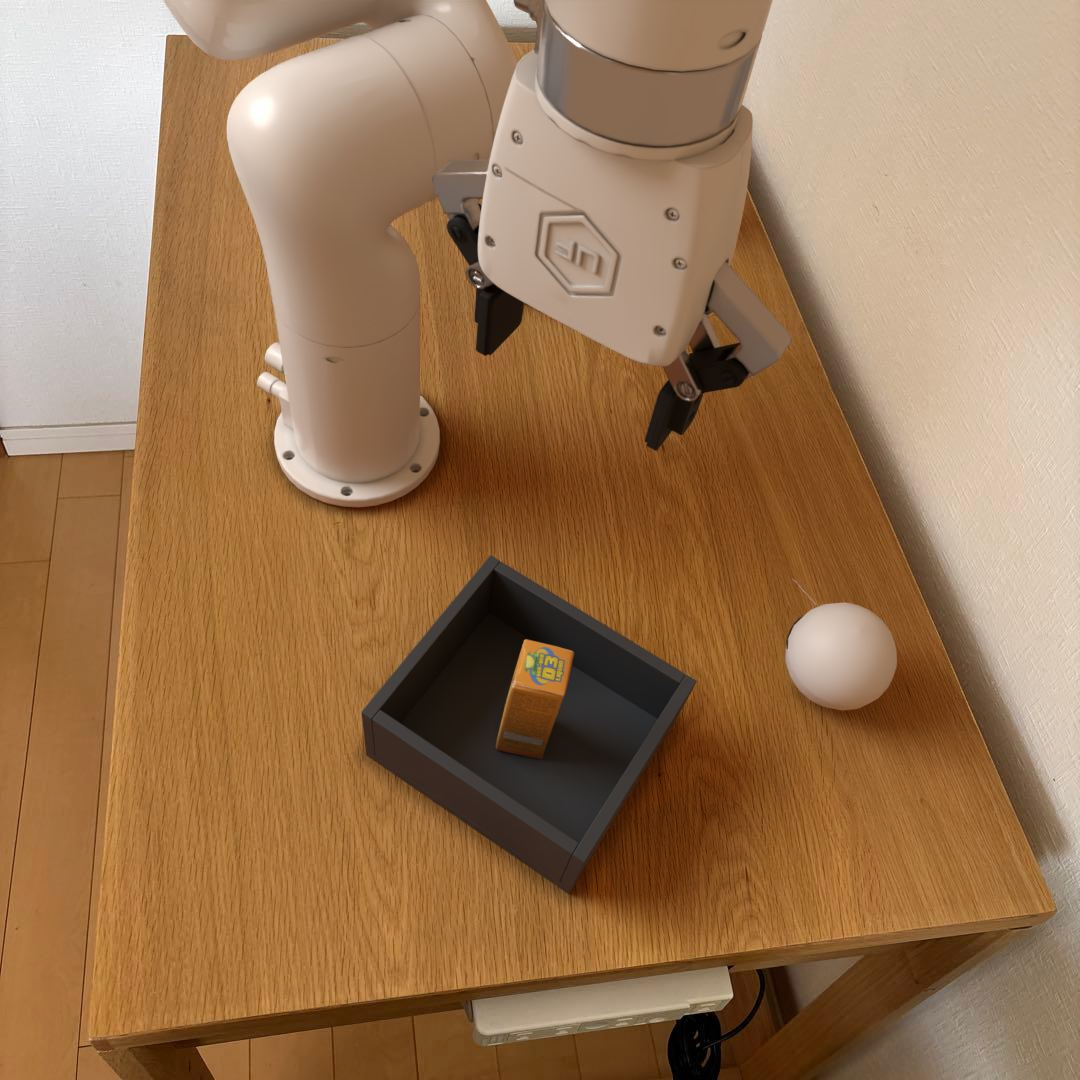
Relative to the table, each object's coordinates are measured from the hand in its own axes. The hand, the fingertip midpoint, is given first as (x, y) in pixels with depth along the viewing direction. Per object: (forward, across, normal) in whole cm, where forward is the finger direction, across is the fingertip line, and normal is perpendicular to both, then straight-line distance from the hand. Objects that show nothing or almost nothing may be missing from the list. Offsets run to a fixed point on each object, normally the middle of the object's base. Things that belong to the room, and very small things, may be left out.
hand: (580, 383), depth 50 cm
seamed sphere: (+26, +18, +10) cm, 34 cm away
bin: (+26, +4, -7) cm, 28 cm away
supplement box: (+26, +4, -7) cm, 27 cm away
